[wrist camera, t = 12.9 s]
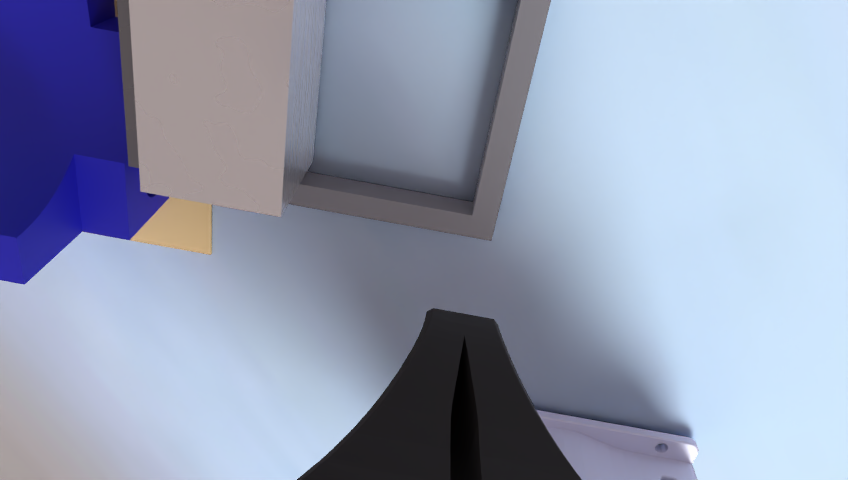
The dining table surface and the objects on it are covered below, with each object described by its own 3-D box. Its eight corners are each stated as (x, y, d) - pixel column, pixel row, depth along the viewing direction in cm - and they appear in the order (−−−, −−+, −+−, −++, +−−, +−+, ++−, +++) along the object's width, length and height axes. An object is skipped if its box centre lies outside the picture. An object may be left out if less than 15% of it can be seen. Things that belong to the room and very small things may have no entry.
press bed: (587, -169, 17) (592, -171, 16) (472, 300, 25) (472, 317, 24) (-61, -291, 17) (-90, -299, 16) (23, 219, 25) (6, 232, 24)
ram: (328, -29, 19) (294, -4, 16) (313, 161, 22) (280, 217, 19) (171, -58, 19) (101, -39, 16) (176, 136, 22) (119, 187, 19)
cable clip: (169, 197, 23) (78, 294, 18) (42, 174, 23) (-85, 264, 18) (156, -207, 17) (15, -235, 12) (-14, -240, 17) (-228, -281, 12)
